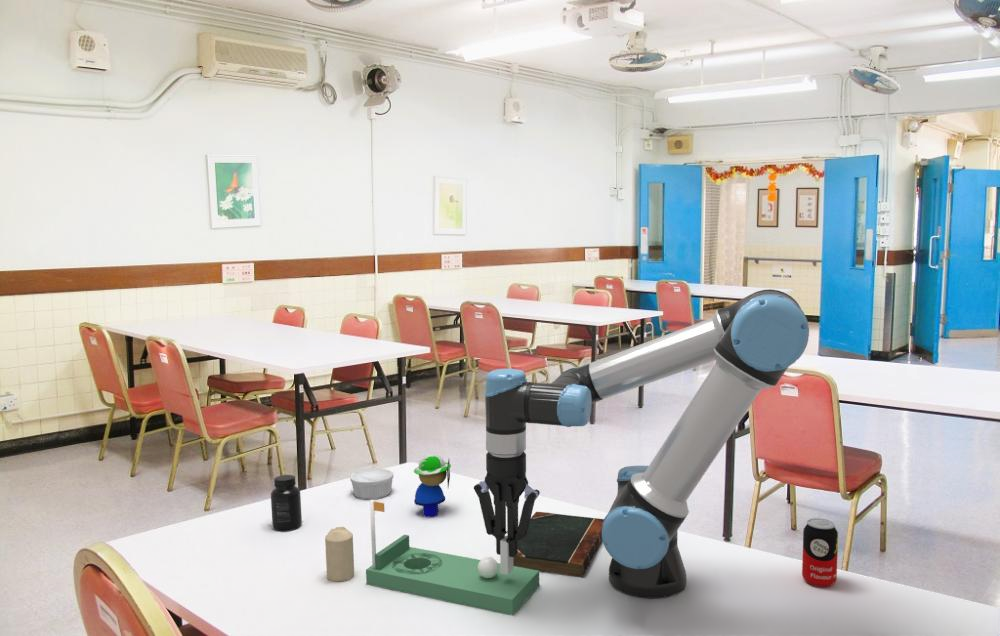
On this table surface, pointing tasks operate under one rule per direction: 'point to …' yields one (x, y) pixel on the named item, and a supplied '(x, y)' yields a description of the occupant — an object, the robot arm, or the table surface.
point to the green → (446, 575)
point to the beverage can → (820, 552)
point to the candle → (339, 554)
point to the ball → (488, 567)
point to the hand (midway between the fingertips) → (507, 571)
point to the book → (559, 544)
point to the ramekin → (372, 483)
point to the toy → (431, 483)
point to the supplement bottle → (286, 504)
